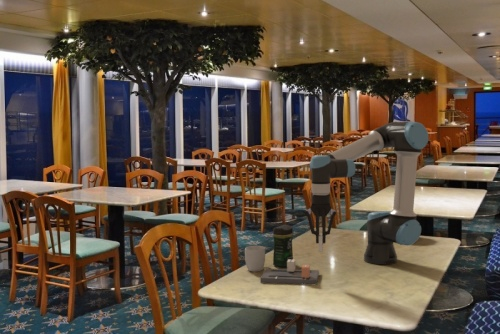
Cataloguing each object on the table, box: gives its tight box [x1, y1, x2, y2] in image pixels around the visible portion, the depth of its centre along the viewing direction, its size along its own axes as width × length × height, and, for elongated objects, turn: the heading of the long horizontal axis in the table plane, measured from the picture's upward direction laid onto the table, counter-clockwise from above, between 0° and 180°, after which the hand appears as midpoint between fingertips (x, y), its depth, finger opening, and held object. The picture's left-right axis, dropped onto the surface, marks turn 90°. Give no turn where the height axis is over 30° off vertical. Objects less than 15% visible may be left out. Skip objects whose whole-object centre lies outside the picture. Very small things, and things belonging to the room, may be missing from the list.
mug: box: [244, 245, 266, 273], centre depth 248 cm, size 13×9×10 cm
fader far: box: [286, 258, 296, 272], centre depth 236 cm, size 3×4×4 cm
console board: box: [259, 268, 320, 285], centre depth 232 cm, size 23×15×2 cm, turn 79°
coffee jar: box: [272, 224, 294, 268], centre depth 252 cm, size 10×8×19 cm
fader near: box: [301, 264, 311, 278], centre depth 226 cm, size 3×4×4 cm
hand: (320, 251), depth 224 cm, fingers closed
